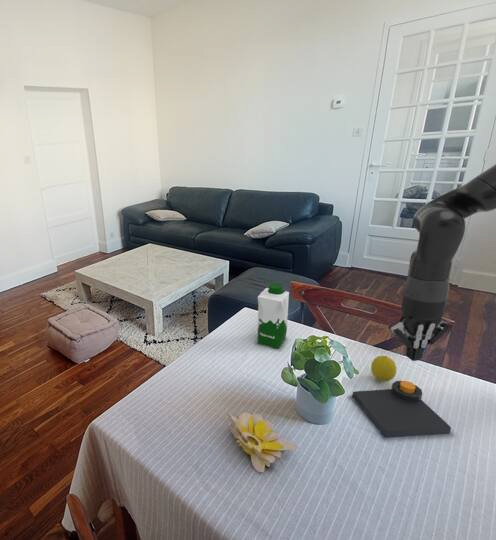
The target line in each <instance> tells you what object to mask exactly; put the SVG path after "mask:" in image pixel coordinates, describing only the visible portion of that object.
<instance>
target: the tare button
mask: <svg viewBox="0 0 496 540" xmlns="http://www.w3.org/2000/svg"><path fill="white" fill-rule="evenodd" d="M400 381H401V382H400V387H399V388H400V390H401V391H403V392H406V393H410V394H411V393H414V392H415V385H416V384H415V383H413V382H411V381H408V380H400Z"/></svg>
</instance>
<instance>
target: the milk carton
mask: <svg viewBox="0 0 496 540" xmlns="http://www.w3.org/2000/svg"><path fill="white" fill-rule="evenodd" d="M259 293H260V294H259V295H258V296H257V303H258V304H257V305H258V306H257V344H259V345H263V346H266V347H270V348H273V349H276V350H279V349H280V347H281V346H282V345H283V344H284V341H285V340H286V337H287V332H288V331H287V330H288V318H289V299H290V291H287V290H283V285H282V284H279V283H271V284H269V286H268V287H265V288H264V289H263V290H262V291H261V292H259Z"/></svg>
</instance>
